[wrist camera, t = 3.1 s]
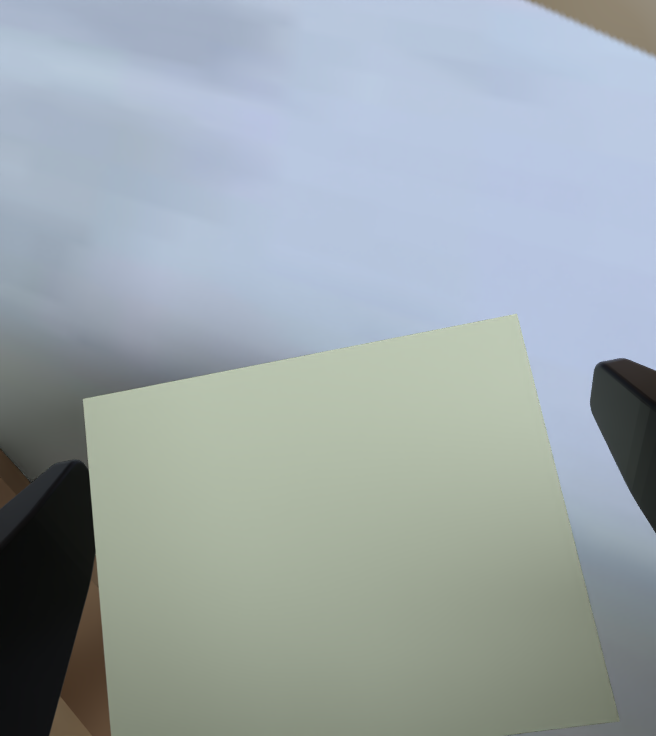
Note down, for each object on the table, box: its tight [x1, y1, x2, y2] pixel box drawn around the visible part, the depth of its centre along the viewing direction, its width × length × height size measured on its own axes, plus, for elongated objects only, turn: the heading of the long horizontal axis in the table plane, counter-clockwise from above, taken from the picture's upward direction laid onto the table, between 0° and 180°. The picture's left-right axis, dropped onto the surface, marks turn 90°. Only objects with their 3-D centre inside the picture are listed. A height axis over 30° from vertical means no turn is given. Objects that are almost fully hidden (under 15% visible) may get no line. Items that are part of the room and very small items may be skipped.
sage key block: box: [83, 314, 620, 736], centre depth 10 cm, size 4×5×10 cm
